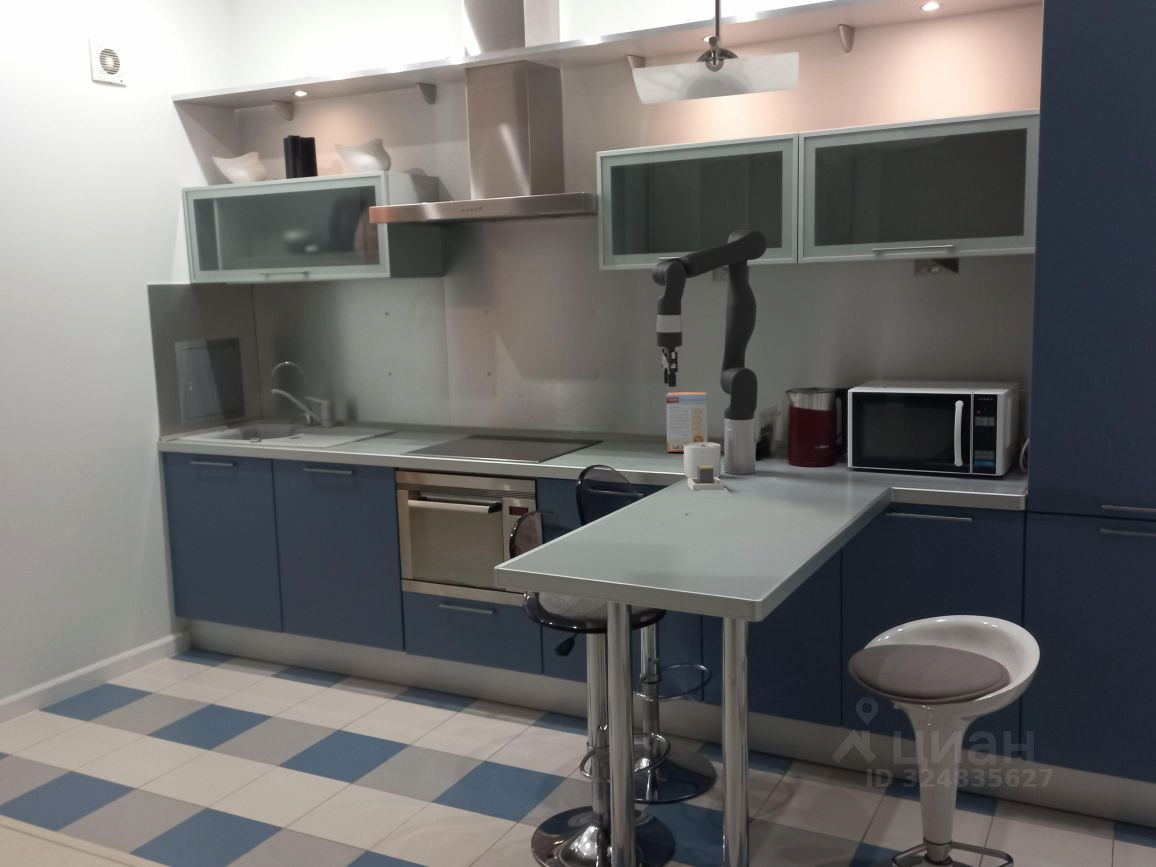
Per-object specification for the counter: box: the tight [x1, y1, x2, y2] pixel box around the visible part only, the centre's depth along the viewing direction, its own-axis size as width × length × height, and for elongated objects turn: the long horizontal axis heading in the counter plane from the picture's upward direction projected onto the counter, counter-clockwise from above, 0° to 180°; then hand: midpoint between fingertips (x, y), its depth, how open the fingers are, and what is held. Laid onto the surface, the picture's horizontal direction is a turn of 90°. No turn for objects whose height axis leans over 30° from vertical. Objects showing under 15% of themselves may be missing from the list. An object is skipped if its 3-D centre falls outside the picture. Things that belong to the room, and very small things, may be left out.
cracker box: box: [665, 391, 709, 452], centre depth 361 cm, size 14×6×21 cm, turn 80°
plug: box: [697, 466, 713, 484], centre depth 300 cm, size 4×4×7 cm
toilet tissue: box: [683, 441, 722, 479], centre depth 320 cm, size 11×12×10 cm
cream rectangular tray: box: [687, 477, 727, 491], centre depth 297 cm, size 11×18×3 cm, turn 4°
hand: (669, 385), depth 306 cm, fingers open, 8 cm apart
